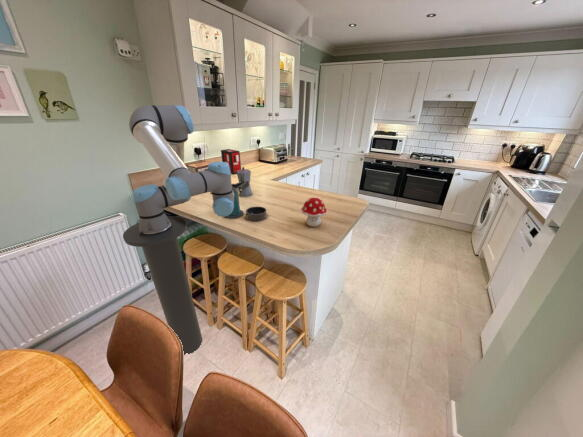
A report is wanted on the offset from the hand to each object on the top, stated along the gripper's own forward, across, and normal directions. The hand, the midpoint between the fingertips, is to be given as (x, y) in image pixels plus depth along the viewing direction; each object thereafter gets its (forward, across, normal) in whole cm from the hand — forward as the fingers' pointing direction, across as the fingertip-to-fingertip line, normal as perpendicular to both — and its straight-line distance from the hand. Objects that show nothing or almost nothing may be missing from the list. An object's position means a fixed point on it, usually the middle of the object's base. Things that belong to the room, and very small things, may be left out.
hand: (227, 180), depth 118 cm
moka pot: (+43, +8, -24) cm, 50 cm away
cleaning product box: (+108, -4, -25) cm, 111 cm away
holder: (+4, +13, -24) cm, 27 cm away
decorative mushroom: (-11, +43, -24) cm, 50 cm away
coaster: (+10, 0, -24) cm, 26 cm away
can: (+10, 0, -23) cm, 25 cm away
